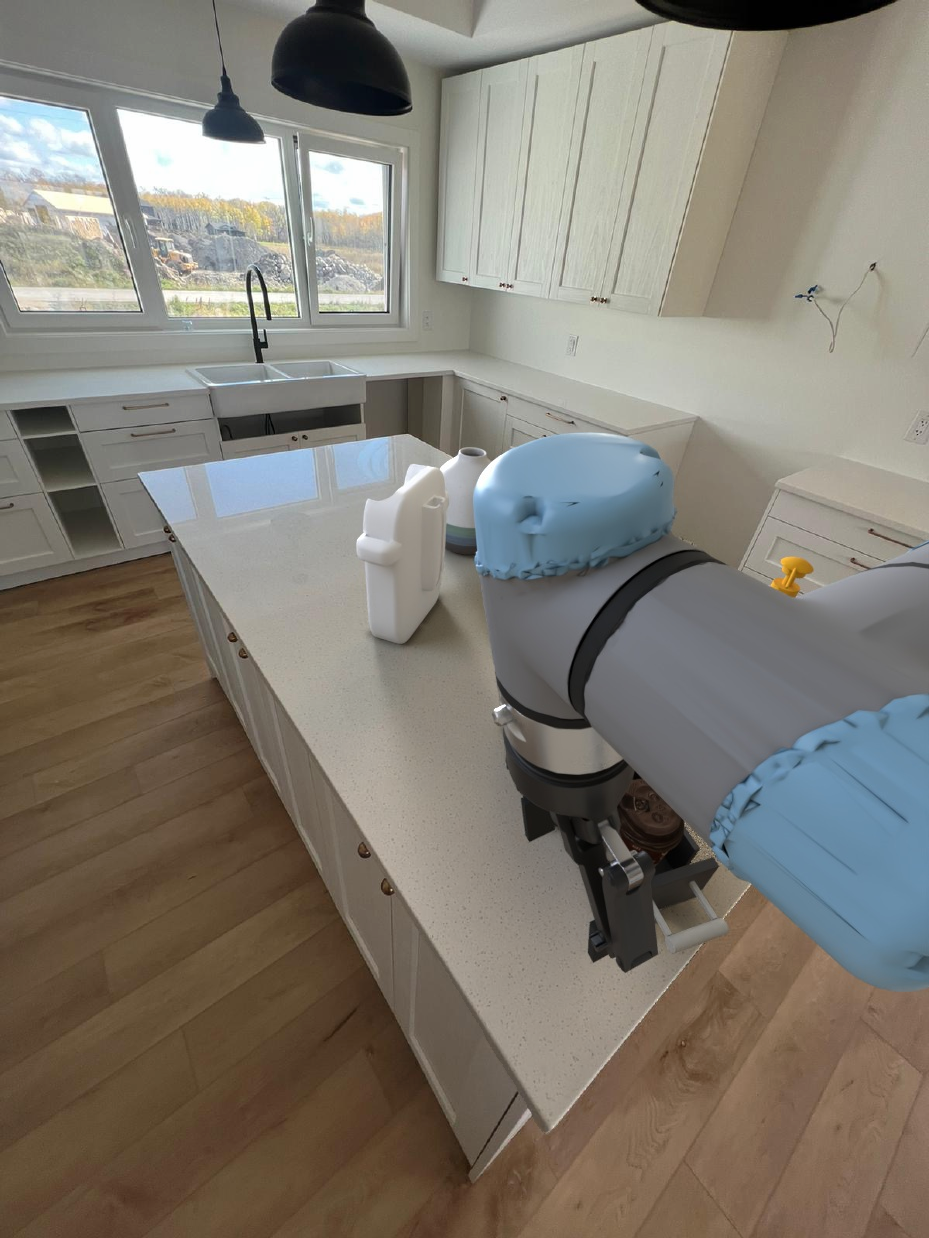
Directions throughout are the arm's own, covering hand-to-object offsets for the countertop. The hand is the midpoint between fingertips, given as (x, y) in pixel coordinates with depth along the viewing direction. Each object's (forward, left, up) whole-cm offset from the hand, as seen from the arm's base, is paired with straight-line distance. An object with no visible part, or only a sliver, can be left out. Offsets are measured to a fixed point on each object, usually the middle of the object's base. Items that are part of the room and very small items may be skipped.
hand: (570, 885), depth 43 cm
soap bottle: (+39, -64, -22) cm, 78 cm away
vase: (+94, -22, -22) cm, 99 cm away
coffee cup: (+8, -16, -20) cm, 27 cm away
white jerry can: (+67, -2, -22) cm, 71 cm away
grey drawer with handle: (+8, -17, -21) cm, 28 cm away
